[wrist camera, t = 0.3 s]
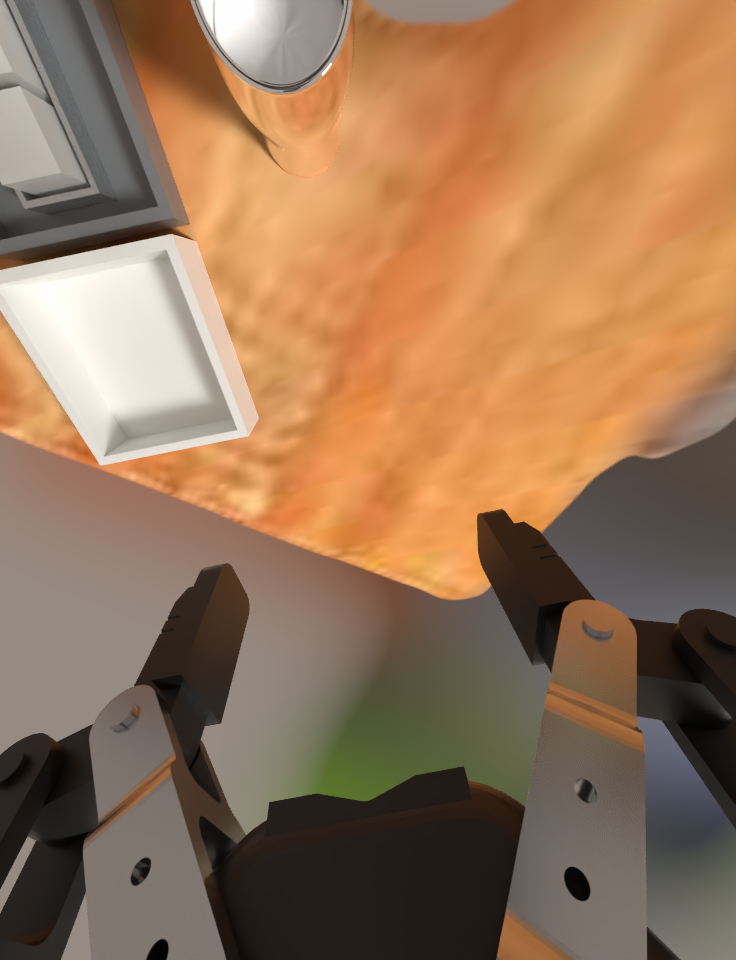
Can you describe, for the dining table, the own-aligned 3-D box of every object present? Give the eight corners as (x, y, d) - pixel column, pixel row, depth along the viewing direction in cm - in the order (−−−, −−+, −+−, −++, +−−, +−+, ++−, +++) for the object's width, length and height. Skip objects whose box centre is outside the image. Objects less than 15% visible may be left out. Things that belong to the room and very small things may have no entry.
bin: (29, 276, 30) (-23, 274, 25) (196, 241, 29) (171, 233, 25) (127, 444, 37) (100, 465, 33) (258, 418, 37) (248, 435, 33)
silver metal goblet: (264, 38, 24) (181, -252, 11) (359, 89, 26) (384, -111, 13) (247, 162, 27) (166, 50, 14) (332, 200, 29) (330, 132, 16)
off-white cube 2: (9, 126, 24) (-45, 99, 21) (65, 114, 24) (19, 85, 21) (46, 198, 26) (2, 185, 23) (97, 187, 26) (61, 172, 23)
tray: (-185, -93, 20) (-270, -155, 17) (57, -148, 20) (11, -221, 17) (20, 259, 29) (-14, 257, 26) (190, 224, 29) (173, 217, 26)
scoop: (-79, -33, 21) (-125, -68, 19) (9, -53, 21) (-27, -90, 19) (48, 214, 27) (24, 209, 25) (118, 200, 27) (99, 193, 25)
